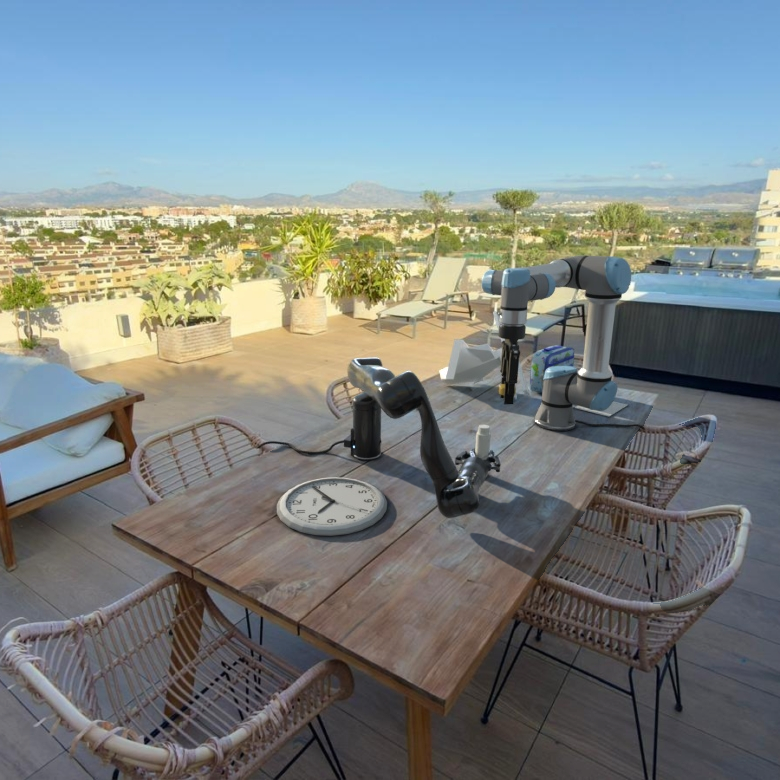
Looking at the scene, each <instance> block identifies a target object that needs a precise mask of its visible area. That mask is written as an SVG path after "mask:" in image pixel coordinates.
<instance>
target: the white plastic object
mask: <svg viewBox="0 0 780 780" xmlns="http://www.w3.org/2000/svg"><path fill="white" fill-rule="evenodd" d="M492 315H493V319H494V321H495V324H496V325H495V326H496V328H497V332H499V325H500V324H501V323H500V316H499V315H498V312H497V311H496V310H495V311H492ZM502 341H505V339H503V338H500V342H502ZM501 357H502V347H500V348H498V349H496V350H495V349H493V348H492V347H491V346H490V344H489V343H488V342H487V343H483V344H479V345H473V346H469V345H468V343H466V342H465V340H464V339H463V338H460V339H458V338H454V340H453V344H452V349H451V353H450V357H449V362H448V366H446V367H444V368H442V369H440V370H439V371H438V372H439V376H440V381H442V383H443V384H444V385H445V386H449V385H458V384H467V383H468V384H469V383H473V384H477V383H480V382H482V381H484V378H485V377H486V376H487V375H489V374H490V373H492V372H494V371H495V370H496V369H497V368H499V367H501ZM522 368H523V367H522V366H521V362H520V361H519V366H518V380H519V382H520V385H521V389H522V391H523V393H524V395H525V396H526V397H528V396H531V395H530V389H529V388H528V387H529V386H528V384H527V381H526V378H525V375H524V371H523V369H522ZM514 400H517V392H516V393H515V395H514Z"/></svg>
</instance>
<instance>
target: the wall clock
mask: <svg viewBox="0 0 780 780" xmlns="http://www.w3.org/2000/svg"><path fill="white" fill-rule="evenodd" d="M387 509H388V500H387V498H386V496H385V494H384V493H383V492H382V491H381V490H380V489H379V488H377V487H376V486H374V485H372V484H371V483H369V482H365V481H362V480H359V479H355V478H349V477H338V476H337V477H335V476H333V477H332V476H331V477H322V478H317V479H312V480H307V481H305V482H302V483H299V484H297V485H295V486H293V487H292V488H290V489H288V490H287V491H286V492H285V493H284V494H283V495H281V496H280V498H279V499H278V502H277V503H276V515H277V517H278V518H279V520H280V521H281V522H282V523H283V524H285V525H286V526H287V527H288V528H290V529H293V530H295V531H297V532H299V533H303V534H308V535H312V536H327V537H328V536H329V537H331V536H332V537H333V536H342V535H350V534H352V533H356V532H361V531H363V530H366V529H368V528H369V527H372V526H373V525H375V524H376V523H378V522H379V521H380V520H381V519H382V518H383V517H384V516H385V514H386V512H387Z"/></svg>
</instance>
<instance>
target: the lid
mask: <svg viewBox="0 0 780 780" xmlns="http://www.w3.org/2000/svg"><path fill="white" fill-rule="evenodd" d="M498 386H499V387H498V394H499V395H500V394H501V395H504V392H505V384H501V383H500V384H499V385H498ZM515 393H516V394H517V385H515V390H514V395H515Z"/></svg>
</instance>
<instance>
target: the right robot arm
mask: <svg viewBox="0 0 780 780" xmlns="http://www.w3.org/2000/svg"><path fill="white" fill-rule="evenodd" d="M631 283H632V269H631V266H630V264H629V262H628V261H627V260H626V259H625V258H623V257H617V256H608V255H587V254H586V255H584V254H582V255H581V254H580V255H574V256H569V257H564V258H558V259H554V260H552V261H551V262H550V263H545V264H537V265H531V266H524V267H518V268H517V267H514V268H513V267H511V268H509V267H508V268H506V269H503V270H500V269H489V270H486V271H485V272H484V273H483V274H482V277H481V289H482V291H483V292H484V293H485V294H488V295H492V296H500V307H499V309H500V310H499V312H497V314H498V316H499V318H500V323H501V324H500V325H499V331H498V337H499V338H500V339H501V338H503V339H505V341H501V348H502V357H501V365H500V369H499V373H500V376H501V378H500V379H501V380H500V381H501V382H500V384H505V392H504V395H501V394H499V398H500V399H503V405H514V401H515V397H514V390H515V386H516V384H518V379H519V376H518V366H519V362H520V356H521V350H520V345H519V344H518V343H519V342H518V341H519V340H523V339H525V338H526V331H527V330H526V329H527V326H526V324H527V322H528V321H527V320H528V306H529V305H528V304H529V302H532V301H542V300H545V299H549V298H550V297H552V296H553V294H555V291H556V289H557V288H567V289H576V290H580V291H581V290H582V291H585V293H584V294H585V295H584V297H585V299H586V300H587V301H588V309H587V310H588V311H587V318H586V319H587V321H586V330H585V341H584V349H583V359H582V367H581V368H580V369H578V368H577V367H576V366H573V367H572V366H554V367H550V368H547V369H546V371H545V374H544V378H543V380H544V381H543V391H542V393H541V402H540V405H539V407H537V408H536V413H535V416H534V424H535V425H536V426H537V427H539V428H542V429H544V430H549V431H556V432H567V431H572V430H574V429H575V428H576V423H577V424H580V425H585V426H589V427H622V428H633V427H638V428H640V429H641V430H645V431H646V428H645V427H644V426H643V425H641V424H638V423H633V424H632V423H630V424H623V423H621V424H620V423H589V422H585V421H583V420H582V421H581V420H578V419H576V418H575V417H576V416H575V413H574V407H573V405H575V406H582V407H585V408H588V409H590V410H597V411H604V410H606V409H607V408H608V407H609V406H610V405H611V404H612V402H613V401H614V400H615V399H616V396H617V394H618V383H617V382H615V381H614V380H613V373H612V372H611V371H610V370H609V366H610V365H609V364H610V358H611V349H612V340H613V331H614V323H615V322H614V321H615V315H616V308H617V307H616V306H617V303H618V302H619V301H620V300H621V299H622V295H624V294H626V293H627V292H628V291H629V290H630V286H631Z"/></svg>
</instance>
